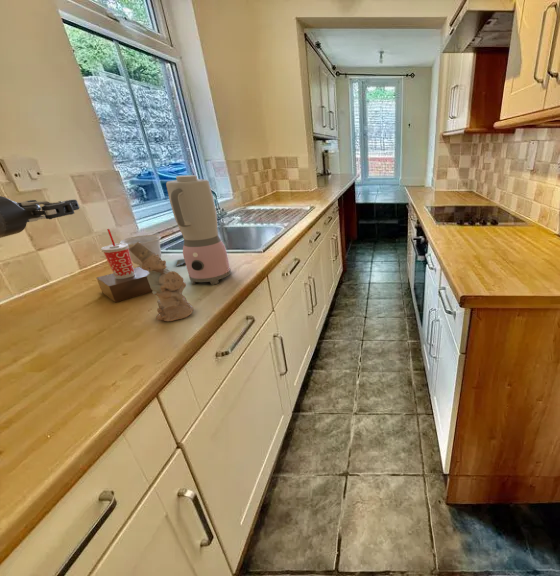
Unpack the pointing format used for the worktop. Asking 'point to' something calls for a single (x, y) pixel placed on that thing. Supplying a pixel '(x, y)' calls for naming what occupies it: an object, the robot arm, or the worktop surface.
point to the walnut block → (125, 285)
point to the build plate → (181, 262)
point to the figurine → (163, 285)
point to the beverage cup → (119, 259)
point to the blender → (198, 229)
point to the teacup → (148, 241)
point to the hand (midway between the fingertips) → (56, 204)
